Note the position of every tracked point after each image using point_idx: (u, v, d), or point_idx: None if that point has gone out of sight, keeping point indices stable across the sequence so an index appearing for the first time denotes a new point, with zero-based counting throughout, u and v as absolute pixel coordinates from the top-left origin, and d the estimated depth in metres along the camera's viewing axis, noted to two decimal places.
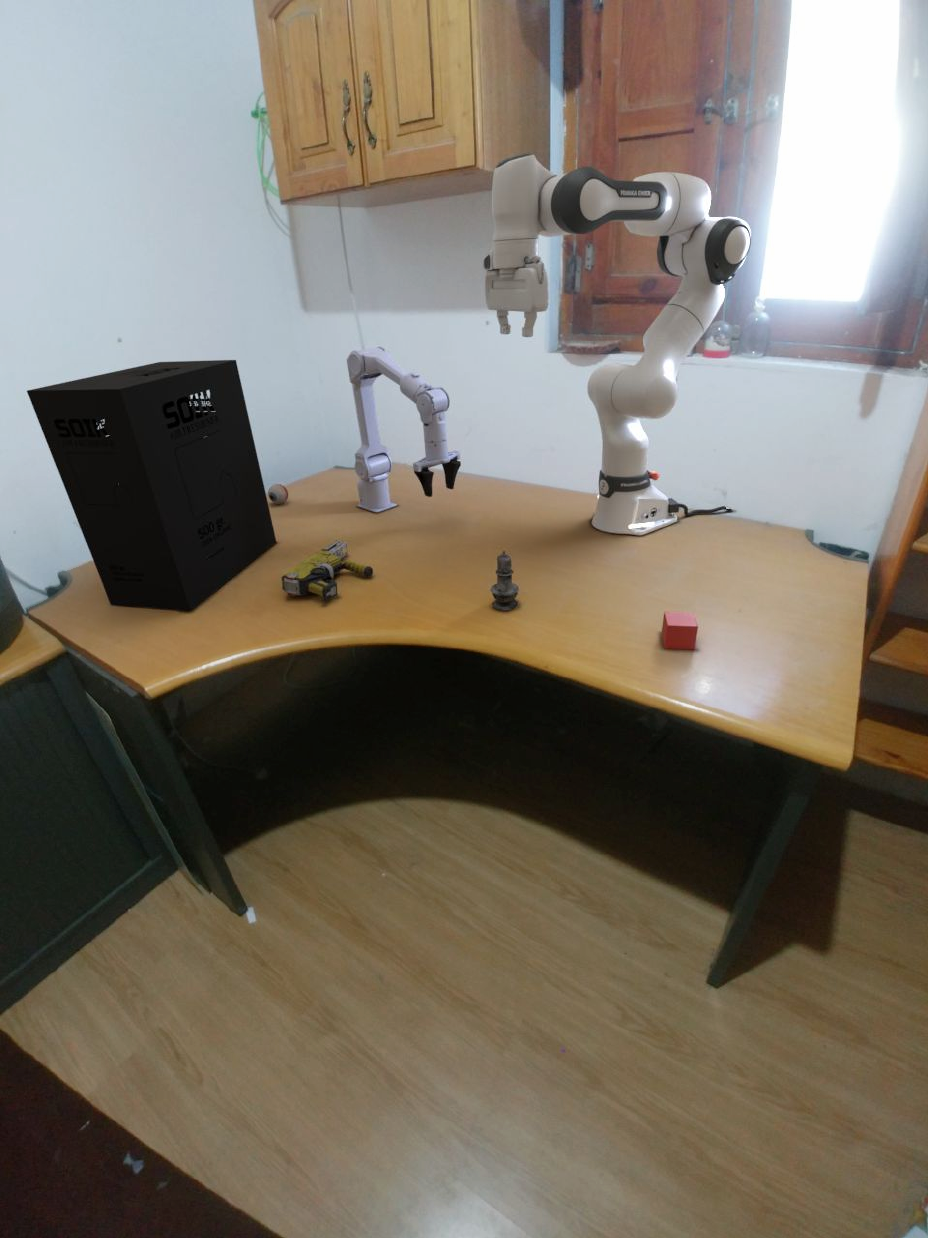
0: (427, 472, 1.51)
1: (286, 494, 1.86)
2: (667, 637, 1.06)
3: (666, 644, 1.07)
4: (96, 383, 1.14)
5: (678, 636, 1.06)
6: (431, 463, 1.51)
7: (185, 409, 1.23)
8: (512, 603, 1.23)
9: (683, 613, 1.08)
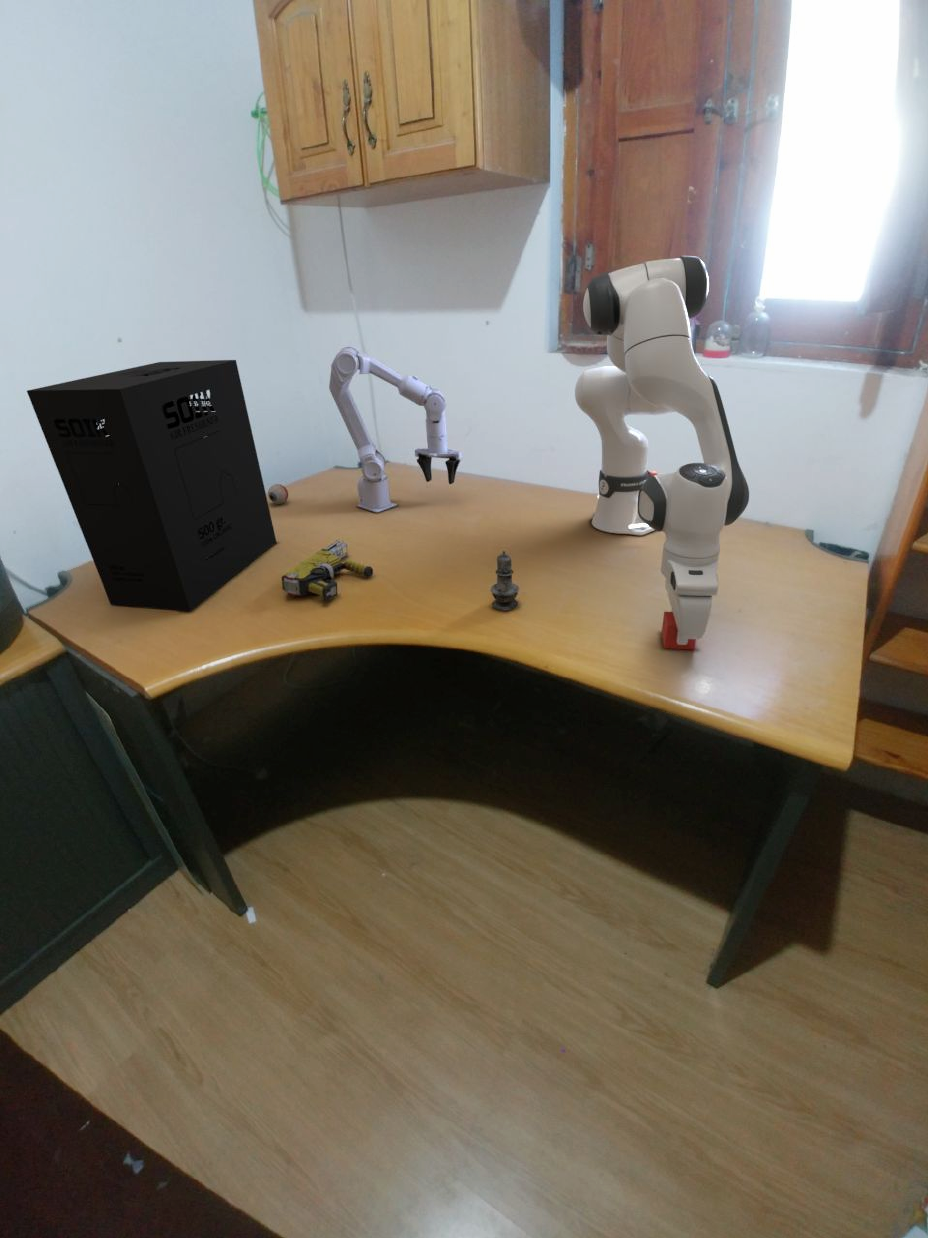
0: (419, 459, 1.76)
1: (286, 494, 1.86)
2: (667, 637, 1.06)
3: (666, 644, 1.07)
4: (96, 383, 1.14)
5: None
6: (423, 453, 1.74)
7: (185, 409, 1.23)
8: (512, 603, 1.23)
9: None
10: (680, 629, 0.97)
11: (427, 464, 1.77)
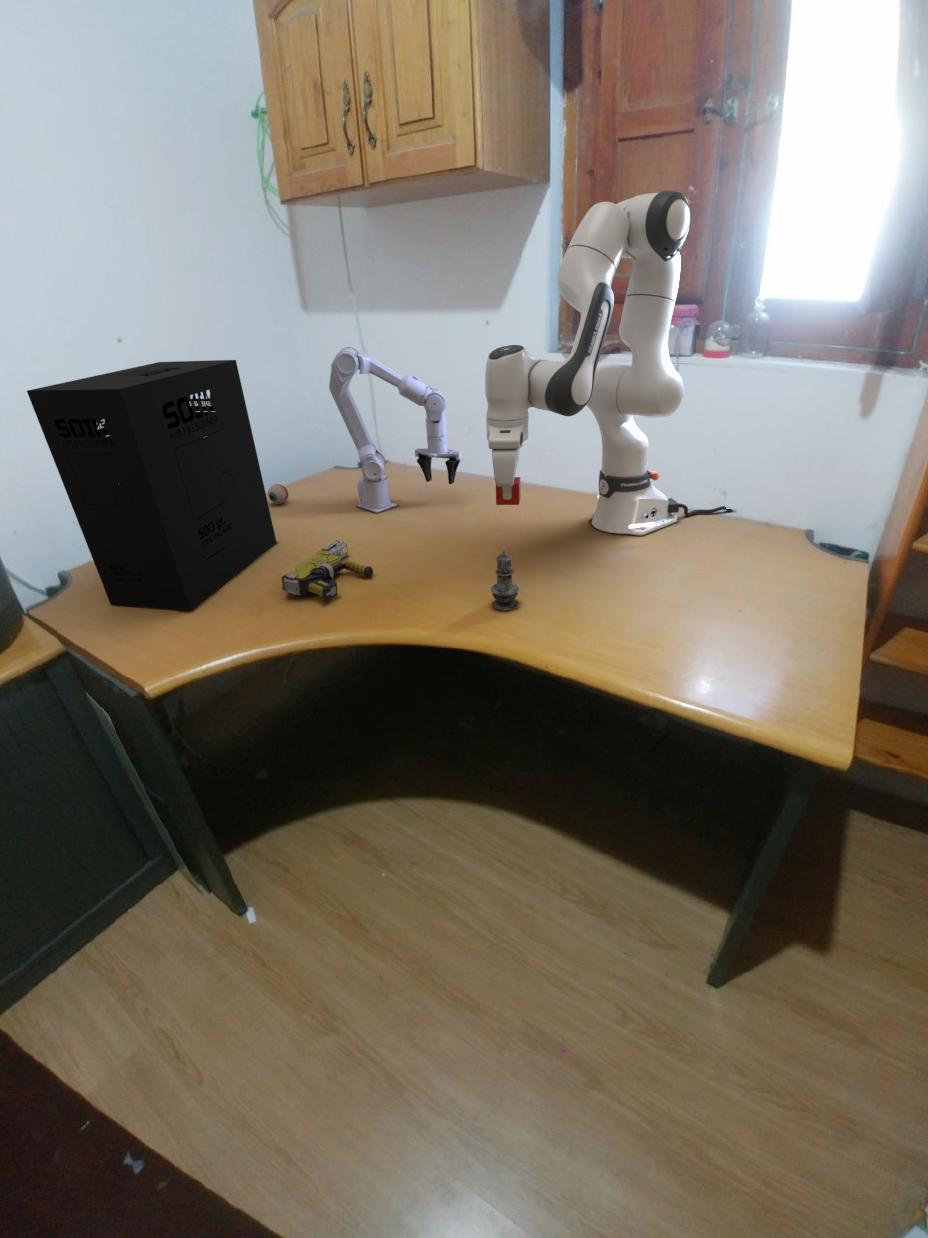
0: (419, 459, 1.76)
1: (286, 494, 1.86)
2: (496, 494, 1.32)
3: (497, 501, 1.33)
4: (96, 383, 1.14)
5: None
6: (423, 453, 1.74)
7: (185, 409, 1.23)
8: (512, 603, 1.23)
9: None
10: (494, 477, 1.23)
11: (427, 464, 1.77)
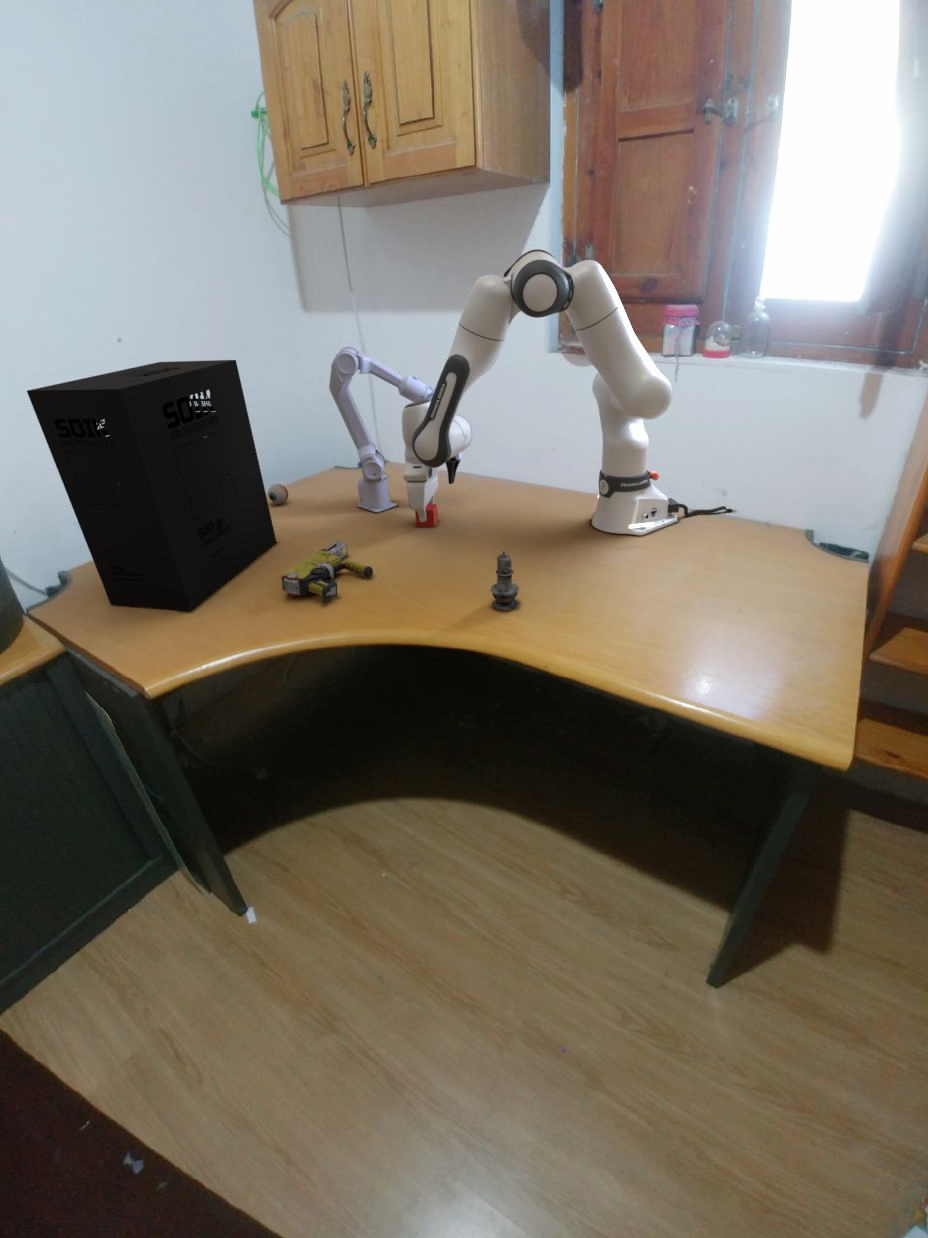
0: None
1: (286, 494, 1.86)
2: (416, 518, 1.64)
3: (417, 523, 1.65)
4: (96, 383, 1.14)
5: None
6: None
7: (185, 409, 1.23)
8: (512, 603, 1.23)
9: (429, 504, 1.66)
10: (409, 503, 1.55)
11: None
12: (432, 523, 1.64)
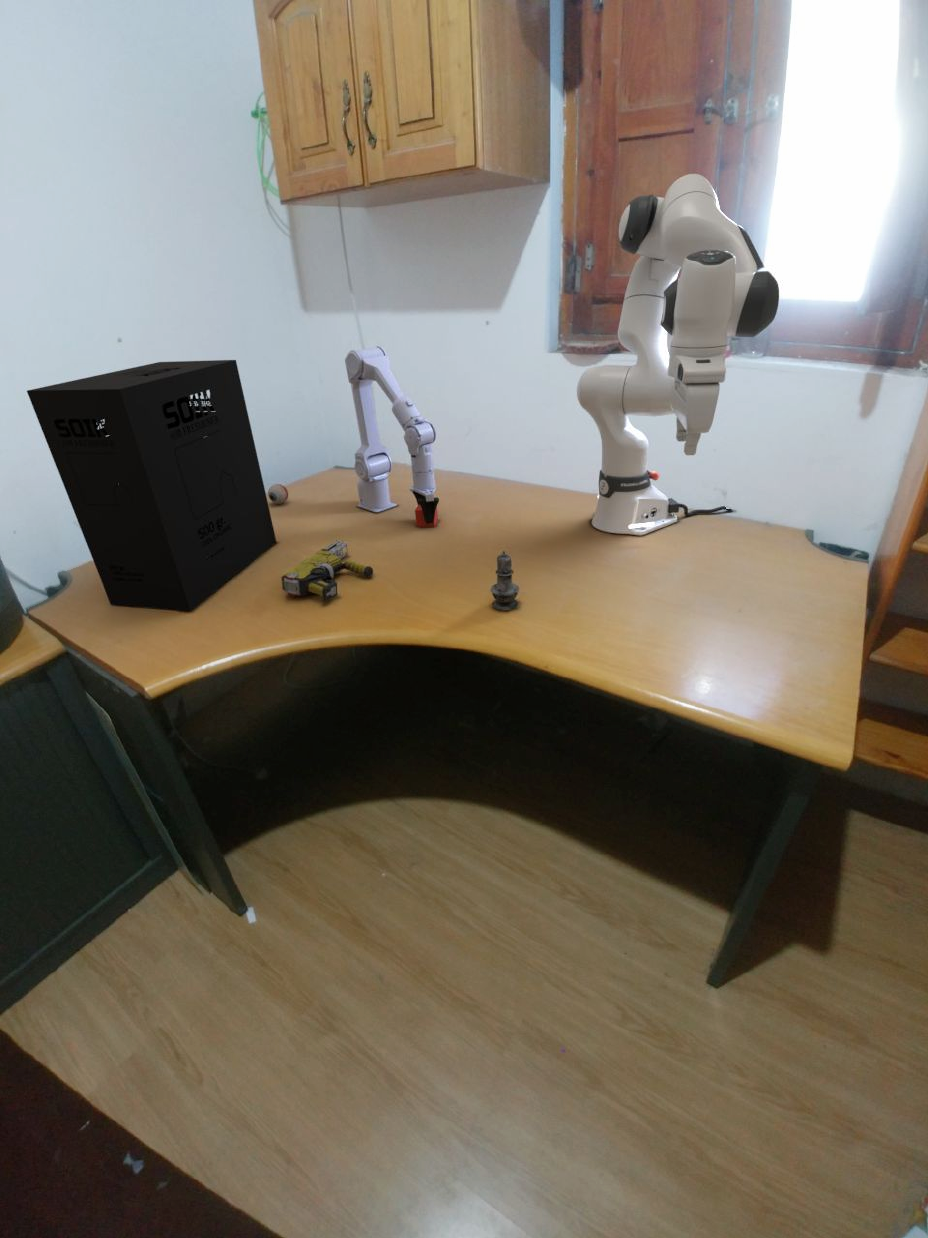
0: None
1: (286, 494, 1.86)
2: (416, 518, 1.64)
3: (417, 523, 1.65)
4: (96, 383, 1.14)
5: (423, 517, 1.64)
6: None
7: (185, 409, 1.23)
8: (512, 603, 1.23)
9: None
10: (687, 420, 0.96)
11: (422, 497, 1.67)
12: (432, 523, 1.64)
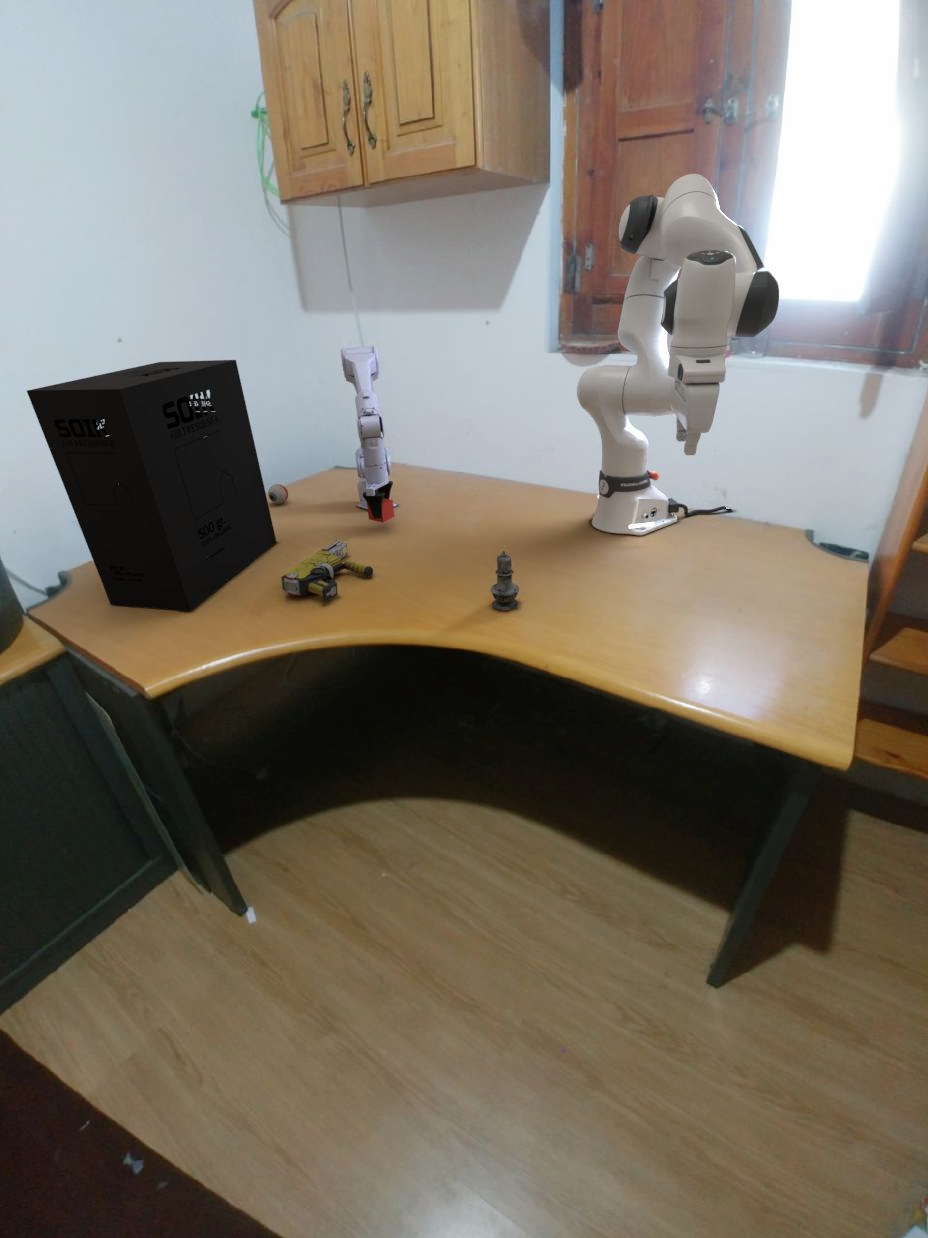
0: None
1: (286, 494, 1.86)
2: (368, 511, 1.62)
3: (369, 516, 1.63)
4: (96, 383, 1.14)
5: None
6: None
7: (185, 409, 1.23)
8: (512, 603, 1.23)
9: (386, 499, 1.63)
10: (687, 420, 0.96)
11: (381, 491, 1.64)
12: (381, 518, 1.61)
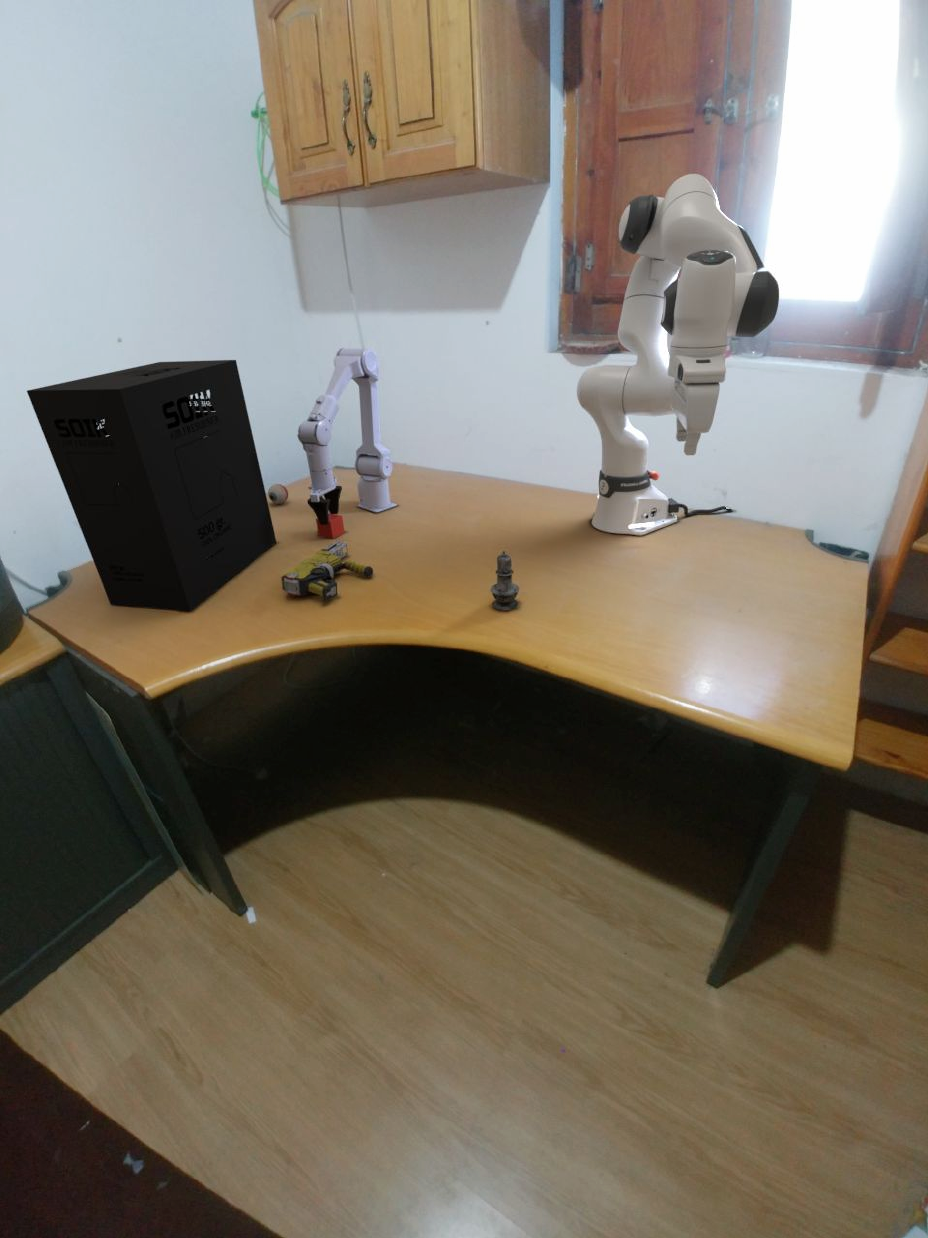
0: None
1: (286, 494, 1.86)
2: (317, 527, 1.62)
3: (318, 533, 1.63)
4: (96, 383, 1.14)
5: (323, 527, 1.61)
6: None
7: (185, 409, 1.23)
8: (512, 603, 1.23)
9: (335, 515, 1.63)
10: (687, 420, 0.96)
11: (330, 496, 1.62)
12: (331, 535, 1.61)
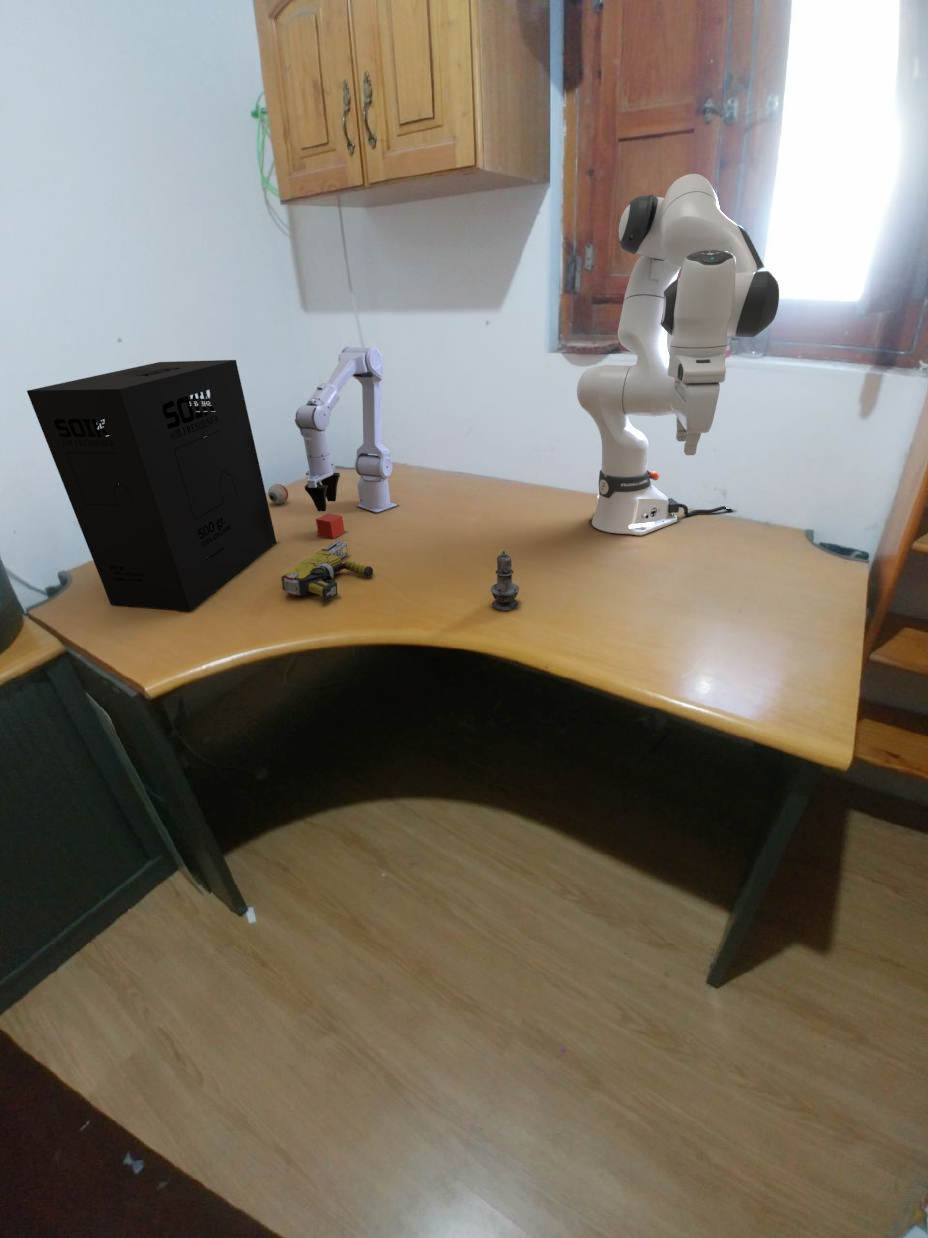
0: None
1: (286, 494, 1.86)
2: (317, 527, 1.62)
3: (318, 533, 1.63)
4: (96, 383, 1.14)
5: (323, 527, 1.61)
6: None
7: (185, 409, 1.23)
8: (512, 603, 1.23)
9: (335, 515, 1.63)
10: (687, 420, 0.96)
11: (327, 483, 1.61)
12: (331, 535, 1.61)
